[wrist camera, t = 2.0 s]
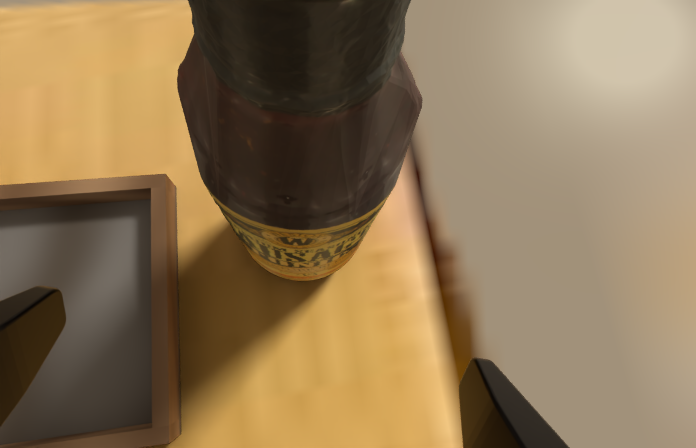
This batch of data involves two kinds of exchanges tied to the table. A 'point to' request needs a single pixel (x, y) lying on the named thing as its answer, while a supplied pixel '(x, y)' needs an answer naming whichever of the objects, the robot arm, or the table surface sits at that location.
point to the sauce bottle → (299, 122)
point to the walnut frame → (98, 310)
